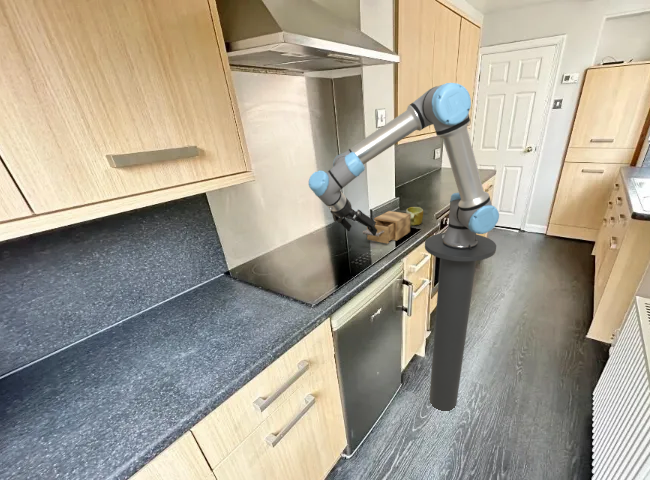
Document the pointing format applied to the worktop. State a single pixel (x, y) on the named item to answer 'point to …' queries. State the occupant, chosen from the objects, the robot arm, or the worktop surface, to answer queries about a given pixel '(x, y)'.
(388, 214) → the cabinet
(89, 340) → the worktop surface
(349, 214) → the robot arm
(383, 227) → the drawer
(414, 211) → the mug
